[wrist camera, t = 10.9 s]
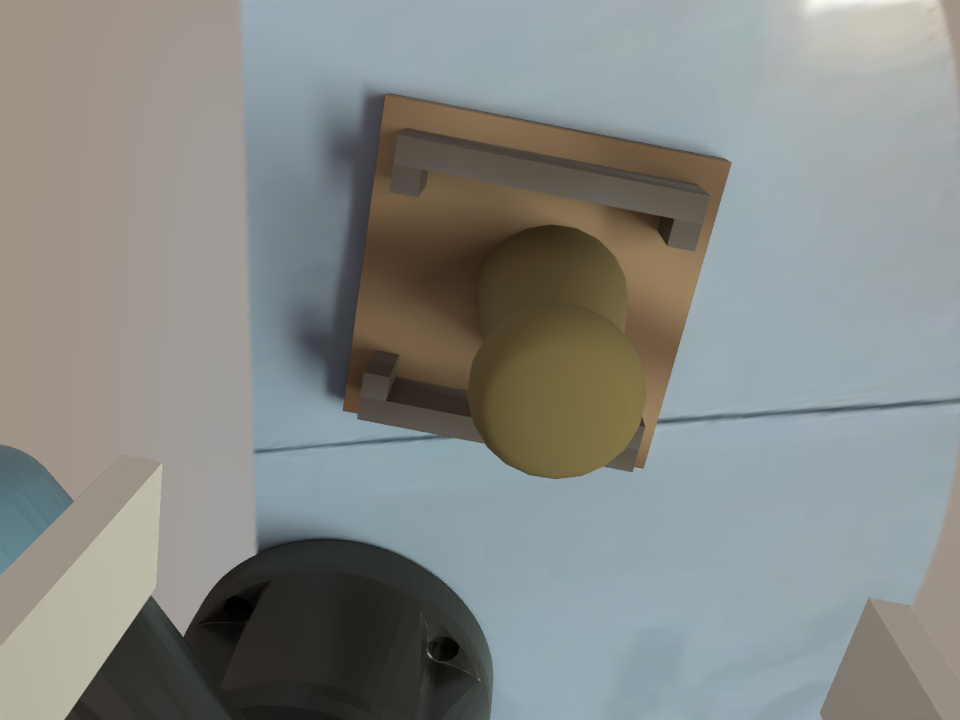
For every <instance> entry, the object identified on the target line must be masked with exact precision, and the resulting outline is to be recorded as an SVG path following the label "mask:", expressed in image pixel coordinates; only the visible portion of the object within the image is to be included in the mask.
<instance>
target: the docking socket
mask: <svg viewBox="0 0 960 720" xmlns="http://www.w3.org/2000/svg"><path fill="white" fill-rule="evenodd" d="M730 166H731V162H730V161H728V160H726V159H722V158H717V157H712V156H707V155H702V154H697V153H692V152H687V151H682V150H676V149H671V148H666V147H661V146H656V145H651V144H646V143H641V142H635V141H630V140H625V139H620V138H615V137H610V136H605V135H600V134H595V133H589V132H584V131H579V130H574V129H569V128H564V127H559V126H554V125H548V124H543V123H538V122H533V121H528V120H523V119H518V118H513V117H508V116H502V115H497V114H492V113H487V112H482V111H477V110H472V109H467V108H461V107H456V106H451V105H446V104H441V103H436V102H431V101H426V100H421V99H415V98H410V97H405V96H400V95H395V94H387V95H385V101H384V109H383V116H382V124H381V131H380V138H379V146H378V153H377V161H376V168H375V176H374V183H373V190H372V198H371V205H370V213H369V220H368V228H367V235H366V242H365V250H364V257H363V265H362V272H361V280H360V287H359V294H358V302H357V309H356V317H355V324H354V332H353V339H352V346H351V354H350V361H349V369H348V376H347V384H346V391H345V398H344V406H343V411H347V412H352V413H357V414H358V417H357V419H360V420H365V421H370V422H375V423H380V424H386V425H391V426H396V427H401V428H406V429H412V430H417V431H422V432H427V433H432V434H437V435H443V436H448V437H453V438H458V439H463V440H469V441H474V442H479V443H484V444H485V442H484V441H483V439H482V437H481V435H480V434H479V432H478V430H477V429H476V427H475V425H474V423H473V420H472V417H471V412H470V407H469V402H468V397H467V390H468V383H469V377H470V370H471V365H472V361H473V359H474V357H475V355H476V353H477V352H478V350H479V348H480V346H481V344H482V342H483V338H482V333H481V329H480V324H479V319H478V313H477V308H476V302H475V297H476V290H477V283H478V277H479V275H480V273H481V271H482V269H483V267H484V265H485V263H486V261H487V259H488V257H489V256H490V255H491V254H492V253H493V252H494V251H495V250H496V249H497V248H498V247H499V246H500V245H501V244H502V243H503V242H504V241H505V240H506V239H508V238H510V237H512V236H514V235H516V234H518V233H520V232H522V231H523V230H525V229H527V228H533V227H539V226H546V225H559V226H566V227H572V228H577V229H579V230H581V231H583V232H585V233H587V234H589V235H591V236H593V237H595V238H597V239H599V240H600V241H601V242H602V243H603V244H604V245H605V246H606V247H607V248H608V249H609V250H610V251H611V252H612V253H613V254H614V255H615V257H616V259H617V261H618V263H619V265H620V267H621V269H622V271H623V273H624V275H625V279H626V287H627V295H628V306H627V316H626V326H625V335H626V336H627V337H628V338H629V339H630V341H631V343H632V345H633V347H634V349H635V351H636V353H637V355H638V357H639V359H640V361H641V363H642V366H643V369H644V375H645V384H646V392H647V397H646V401H645V406H644V410H643V414H642V419H641V422H640V425H639V428H638V430H637V431H636V433H635V434H634V436H633V438H632V439H631V441H630V442H629V444H628V446H627V447H626V449H625V450H623V451H622V452H621V453H620V454H619V455H618V456H616V457H615V458H614V459H613V460H612V461H610V462H609V463H608V464H607V465H606V466H603V467H609V468H614V469H619V470H624V471H629V472H633V469H634V467H637V468H643V469H644V465H645V462H646V458H647V455H648V451H649V448H650V444H651V441H652V437H653V434H654V430H655V427H656V423H657V420H658V416H659V413H660V410H661V406H662V403H663V399H664V396H665V392H666V389H667V385H668V382H669V378H670V375H671V371H672V368H673V364H674V361H675V357H676V354H677V350H678V347H679V344H680V340H681V337H682V333H683V330H684V326H685V323H686V319H687V316H688V312H689V309H690V305H691V302H692V298H693V295H694V291H695V288H696V284H697V281H698V278H699V274H700V271H701V267H702V264H703V260H704V257H705V253H706V250H707V246H708V243H709V239H710V236H711V232H712V229H713V225H714V222H715V218H716V215H717V212H718V208H719V205H720V201H721V198H722V194H723V191H724V187H725V184H726V180H727V177H728V173H729V170H730Z"/></svg>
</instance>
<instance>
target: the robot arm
mask: <svg viewBox="0 0 960 720" xmlns="http://www.w3.org/2000/svg"><path fill="white" fill-rule="evenodd" d="M161 483H162V463H161V462H156V461H151V460H145V459H140V458H135V457H129V456H125V455H120V457H118V458H117V459H116V460H115V461H114V462H113V463H112V464H111V465H110V466H109V467H108V468H107V469H106V470H105V471H104V472H103V473H102V474H101V475H100V476H99V477H98V478H97V479H96V480H95V481H94V482H93V483H92V484H91V485H90V486H89V487H88V488H87V489H86V490H85V491H84V492H83V493H82V494H81V495H80V496H79V497H78V498H77V499H76V500H75V501H73V500H72V499H71V497H70V496H69V495H68V494H67V493H66V491H65V490H64V489H63V488H62V487H61V486H60V484H59V483H58V482H57V481H56V480H55V479H54V477H53V476H52V475H51V474H50V473H49V472H48V471H47V469H46V468H45V467H44V466H42V465H41V464H40V463H39V462H38V461H37V460H36V459H34V458H33V457H31V456H30V455H28V454H26V453H24V452H22V451H20V450H18V449H15V448H12V447H9V446H4V445H0V720H490V715H491V703H492V689H493V667H492V660H491V655H490V651H489V647H488V644H487V641H486V639H485V636H484V634H483V632H482V630H481V627H480V625H479V624H478V622H477V620H476V619H475V617H474V615H473V614H472V613H471V611H470V610H469V608H468V607H467V606H466V605H465V603H464V602H463V601H462V600H461V599H460V598H459V596H458V595H457V594H456V593H455V592H454V591H453V590H452V589H451V588H449V587H448V586H447V585H446V584H445V583H444V582H442V581H441V580H440V579H439V578H437V577H436V576H435V575H433V574H432V573H430V572H429V571H427V570H426V569H424V568H422V567H421V566H419V565H417V564H416V563H414V562H412V561H410V560H408V559H406V558H403V557H401V556H399V555H396V554H394V553H391V552H388V551H386V550H383V549H379V548H376V547H372V546H368V545H363V544H358V543H352V542H344V541H328V540H321V541H306V542H298V543H292V544H287V545H283V546H279V547H276V548H272V549H269V550H267V551H264V552H262V553H259V554H257V555H255V556H253V557H251V558H249V559H247V560H245V561H244V562H242V563H240V564H239V565H237V566H236V567H235V568H233V569H232V570H230V571H229V572H228V573H227V574H226V575H225V576H223V577H222V578H221V580H219V581H218V583H217V584H216V585H215V586H214V587H213V588H212V590H211V591H210V592H209V594H208V595H207V597H206V598H205V600H204V601H203V603H202V605H201V606H200V608H199V610H198V612H197V613H196V615H195V617H194V619H193V620H192V622H191V624H190V625H189V627H188V629H187V631H186V633H185V635H184V638H183V636H182V635H181V634H180V632H179V631H178V630H177V629H176V627H175V626H174V625H173V623H172V622H171V621H170V619H169V618H168V617H167V616H166V614H165V613H164V612H163V610H162V609H161V608H160V606H159V605H158V604H157V602H156V601H155V600H154V599H153V597H152V596H151V594H152V592H153V591H154V590H155V588H156V584H157V563H158V544H159V522H160V503H161ZM820 714H821V717H822V719H823V720H960V680H959V679H958V677H957V676H956V674H955V673H954V671H953V670H952V668H951V667H950V665H949V664H948V662H947V661H946V659H945V658H944V656H943V655H942V653H941V652H940V650H939V649H938V647H937V646H936V644H935V643H934V641H933V640H932V638H931V637H930V635H929V634H928V632H927V631H926V629H925V628H924V626H923V625H922V623H921V622H920V620H919V619H918V617H917V616H916V614H915V613H914V611H913V610H912V608H911V607H910V605H905V604H900V603H894V602H889V601H884V600H879V599H873V598H868V601H867V603H866V606H865V608H864V610H863V613H862V615H861V617H860V620H859V622H858V624H857V627H856V629H855V631H854V634H853V636H852V638H851V641H850V643H849V645H848V648H847V650H846V652H845V655H844V657H843V660H842V662H841V664H840V667H839V669H838V671H837V674H836V676H835V678H834V681H833V683H832V685H831V688H830V690H829V692H828V695H827V697H826V699H825V702H824V704H823V706H822V709H821V711H820Z"/></svg>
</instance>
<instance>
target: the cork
mask: <svg viewBox="0 0 960 720" xmlns="http://www.w3.org/2000/svg"><path fill="white" fill-rule="evenodd" d="M475 302H476V308H477V313H478V319H479V324H480V329H481V333H482V338H483V342H482V344H481V346H480V348H479V350H478V352H477V353H476V355H475V357H474V359H473V361H472V365H471V370H470V377H469V383H468V390H467V397H468V402H469V407H470V412H471V417H472V420H473V423H474V425H475V427H476V429H477V430H478V432H479V434H480V435H481V437H482V439H483V441H484V442H485V444H486V446H487V447H488V448H489V449H490V450H491V451H492V452H493V453H494V454H495V455H497V456H498V457H499V458H500V459H501V460H502V461H503V462H504V463H505V464H507V465H509V466H511V467H513V468H516V469H518V470H520V471H522V472H524V473H526V474H528V475H533V476H539V477H546V478H552V479H560V478H568V477H576V476H582V475H585V474H587V473H589V472H592V471H594V470H596V469H599V468H601V467H603V466H606V465H607V464H608V463H609V462H610V461H612V460H613V459H614V458H615V457H616V456H618V455H619V454H620V453H621V452H622V451H623V450H625V449H626V447H627V446H628V444H629V442H630V441H631V439H632V438H633V436H634V434H635V433H636V431H637V430H638V428H639V425H640V422H641V419H642V414H643V410H644V406H645V401H646V397H647V392H646V384H645V375H644V369H643V366H642V363H641V361H640V359H639V357H638V355H637V353H636V351H635V349H634V347H633V345H632V343H631V341H630V339H629V338H628V337H627V336H626V335H625V326H626V316H627V306H628V295H627V287H626V279H625V275H624V273H623V271H622V269H621V267H620V265H619V263H618V261H617V259H616V257H615V255H614V254H613V253H612V252H611V251H610V250H609V249H608V248H607V247H606V246H605V245H604V244H603V243H602V242H601V241H600V240H599V239H597V238H595V237H593V236H591V235H589V234H587V233H585V232H583V231H581V230H579V229H577V228H572V227H566V226H559V225H546V226H539V227H533V228H527V229H525V230H523V231H522V232H520V233H518V234H516V235H514V236H512V237H510V238H508V239H506V240H505V241H504V242H503V243H502V244H501V245H500V246H499V247H498V248H497V249H496V250H495V251H494V252H493V253H492V254H491V255H490V256H489V257H488V259H487V261H486V263H485V265H484V267H483V269H482V271H481V273H480V275H479V277H478V283H477V290H476V297H475Z"/></svg>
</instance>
